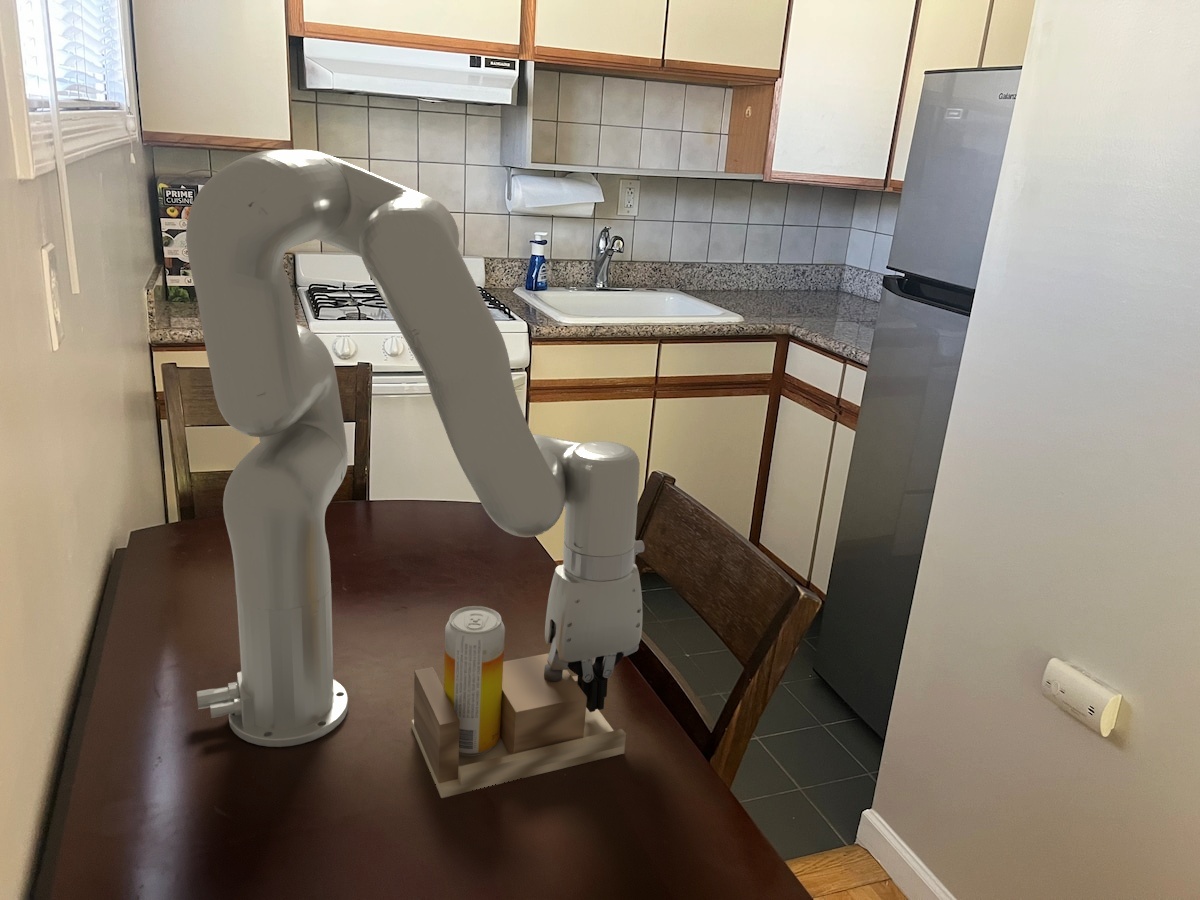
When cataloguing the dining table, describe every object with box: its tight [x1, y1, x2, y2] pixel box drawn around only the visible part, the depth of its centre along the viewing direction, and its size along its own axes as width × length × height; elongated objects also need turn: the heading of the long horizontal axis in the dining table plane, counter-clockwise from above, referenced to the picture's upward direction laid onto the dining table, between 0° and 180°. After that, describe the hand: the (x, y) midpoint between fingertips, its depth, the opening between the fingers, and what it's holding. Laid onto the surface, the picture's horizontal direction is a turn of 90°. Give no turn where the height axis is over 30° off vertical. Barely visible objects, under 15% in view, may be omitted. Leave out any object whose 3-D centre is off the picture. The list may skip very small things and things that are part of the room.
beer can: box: [443, 605, 506, 757], centre depth 94 cm, size 6×6×15 cm
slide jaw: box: [500, 652, 587, 755], centre depth 98 cm, size 8×9×7 cm
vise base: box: [411, 666, 627, 799], centre depth 97 cm, size 20×12×8 cm, turn 115°
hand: (591, 703), depth 101 cm, fingers closed
